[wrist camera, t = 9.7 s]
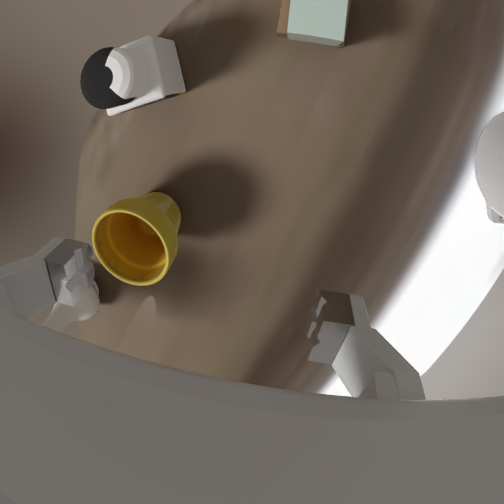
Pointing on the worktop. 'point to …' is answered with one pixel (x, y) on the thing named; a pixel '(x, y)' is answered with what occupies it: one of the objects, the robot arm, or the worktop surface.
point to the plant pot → (138, 238)
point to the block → (285, 16)
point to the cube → (317, 21)
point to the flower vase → (74, 309)
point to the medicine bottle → (132, 75)
